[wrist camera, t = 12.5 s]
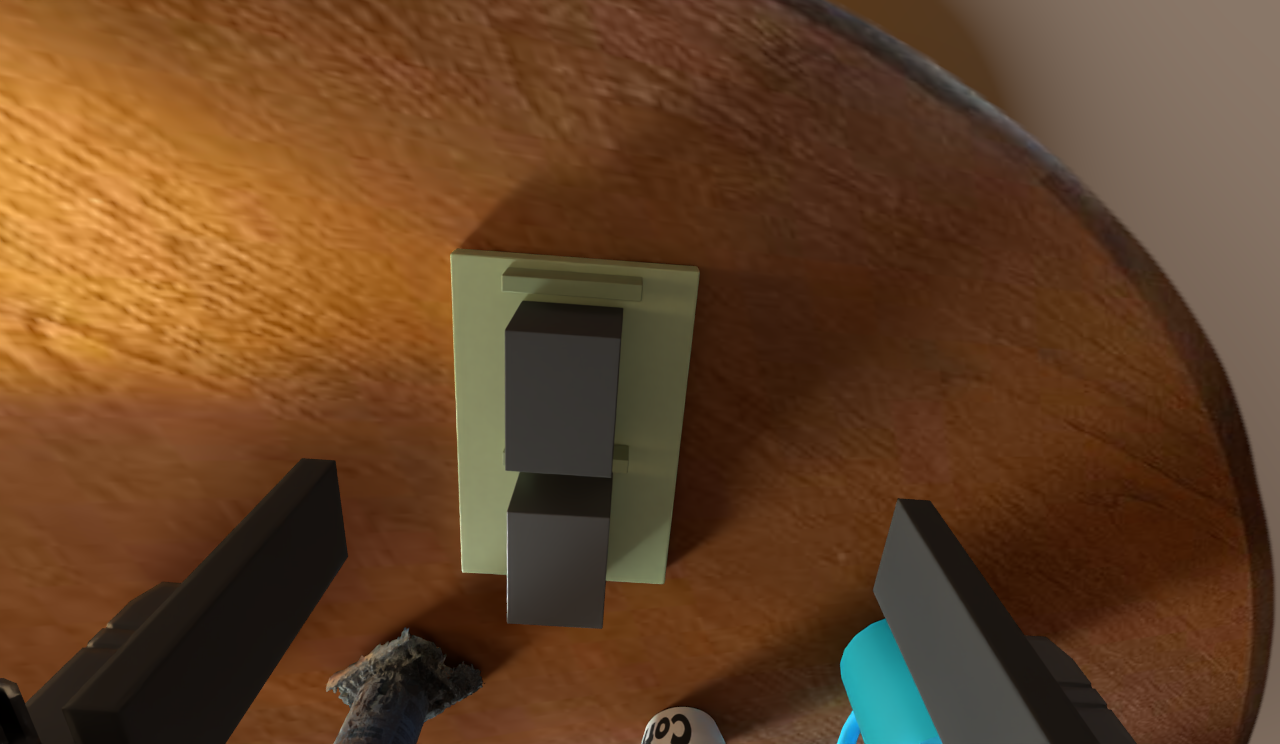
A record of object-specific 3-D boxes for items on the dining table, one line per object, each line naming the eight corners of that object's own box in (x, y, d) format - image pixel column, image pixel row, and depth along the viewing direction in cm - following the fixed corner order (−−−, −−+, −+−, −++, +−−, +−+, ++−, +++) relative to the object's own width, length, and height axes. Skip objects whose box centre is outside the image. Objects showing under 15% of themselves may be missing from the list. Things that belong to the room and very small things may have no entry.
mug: (899, 593, 40) (959, 707, 33) (992, 649, 42) (1069, 769, 34) (778, 708, 44) (806, 834, 36) (867, 755, 46) (912, 884, 38)
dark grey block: (521, 300, 32) (504, 329, 27) (623, 307, 32) (621, 337, 28) (521, 426, 34) (505, 471, 30) (614, 432, 34) (611, 478, 30)
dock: (456, 248, 32) (420, 276, 27) (698, 266, 32) (709, 297, 27) (466, 559, 39) (439, 630, 34) (663, 571, 39) (667, 643, 34)
